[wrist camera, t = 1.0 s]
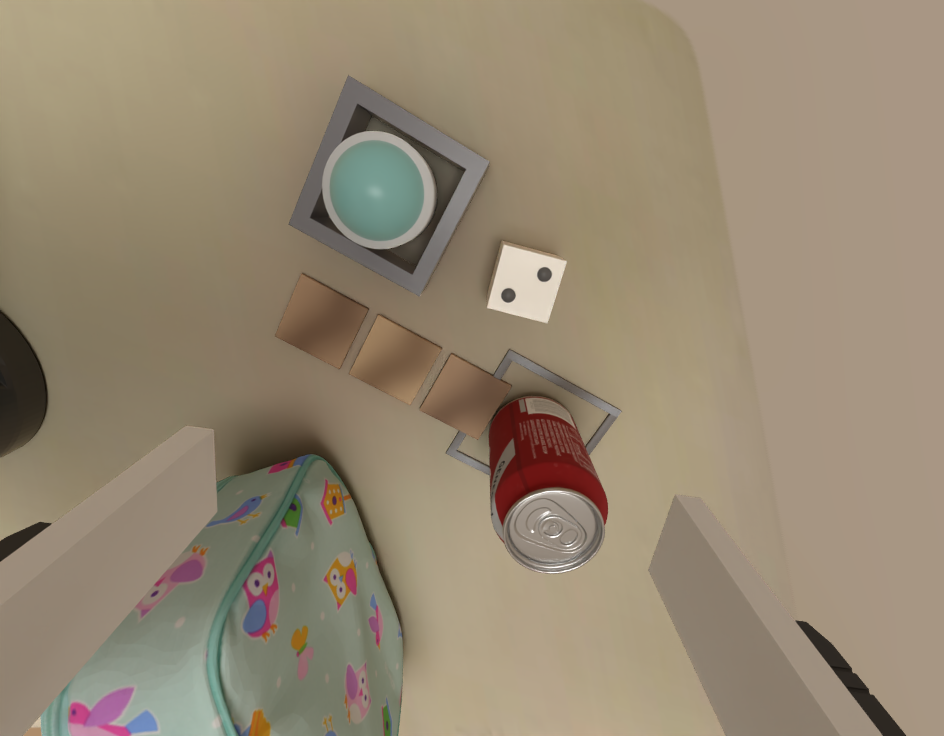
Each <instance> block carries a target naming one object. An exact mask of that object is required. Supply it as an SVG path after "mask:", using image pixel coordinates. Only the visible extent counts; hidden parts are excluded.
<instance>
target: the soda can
mask: <svg viewBox="0 0 944 736" xmlns="http://www.w3.org/2000/svg"><path fill="white" fill-rule="evenodd" d="M489 460H490V501H491V519H492V523H493V527H494V529H495V531H496V533H497V535H498V536H499V538H500V539H501V540H502V541H503V543H504V544H505V546H506V549H507V550H508V552H509V554H510V555H511V556H512V557H513V559H514V560H515V561H517V562H518V563H519V564H520V565H522V566H524V567H526V568H528V569H530V570H532V571H536V572H540V573H546V574H557V573H564V572H568V571H572V570H574V569H577V568H579V567H581V566H583V565H584V564H586V563H587V562H588V561H590V560H591V559H592V558H593V557H594V556H595V555H596V553H597V552H598V551H599V549H600V547H601V545H602V543H603V540H604V535H605V524H606V520H607V515H608V503H607V498H606V495H605V492H604V489H603V487H602V485H601V483H600V480H599V478H598V476H597V473H596V471H595V469H594V466H593V464H592V462H591V459H590V457H589V455H588V452H587V450H586V448H585V445H584V443H583V441H582V438H581V436H580V434H579V431H578V429H577V427H576V424H575V422H574V420H573V418H572V416H571V414H570V413H569V412H568V410H567V409H566V408H565V407H564V406H562V405H561V404H560V403H558V402H556V401H555V400H552V399H550V398H547V397H542V396H526V397H521V398H518V399H515V400H513V401H511V402H509V403H508V404H506V405H505V406H504V407H502V408H501V409H500V410H499V412H498V413H497V414H496V415H495V417H494V419H493V421H492V423H491V426H490V430H489Z"/></svg>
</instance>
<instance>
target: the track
mask: <svg viewBox="0 0 944 736" xmlns="http://www.w3.org/2000/svg"><path fill="white" fill-rule="evenodd" d="M368 310H369V309H368V308H366V307H365V306H363V305H361V304H359V303H357V302H355V301H353V300H352V299H350V298H348V297H346V296H344V295H342V294H340V293H338V292H337V291H335V290H333V289H331V288H329V287H327V286H325V285H324V284H322V283H320V282H318V281H316V280H314V279H312V278H311V277H309V276H307V275H305V274H303V273H302V274H301V275H300V278H299V280H298V282H297V285H296V287H295V289H294V292H293V294H292V297H291V299H290V301H289V304H288V306H287V308H286V311H285V313H284V315H283V318H282V320H281V322H280V325H279V327H278V329H277V332H276V334H275V337H277V338H279V339H281V340H283V341H285V342H287V343H289V344H291V345H293V346H295V347H297V348H299V349H301V350H303V351H305V352H307V353H309V354H311V355H313V356H315V357H317V358H318V359H320V360H322V361H324V362H326V363H328V364H330V365H332V366H334V367H336V368H338V369H340V367H341V365H342V363H343V361H344V359H345V357H346V355H347V353H348V351H349V349H350V347H351V345H352V343H353V341H354V339H355V337H356V335H357V333H358V331H359V328H360V326H361V324H362V322H363V320H364V318H365V316H366V314H367V312H368ZM441 350H442V348H441V347H439V346H437V345H435V344H434V343H432V342H430V341H428V340H426V339H424V338H422V337H421V336H419V335H417V334H415V333H413V332H411V331H409V330H407V329H406V328H404V327H402V326H400V325H398V324H396V323H394V322H393V321H391V320H389V319H387V318H385V317H383V316H381V315H380V314H379V315H378V316H377V318H376V320H375V322H374V324H373V326H372V328H371V330H370V332H369V334H368V336H367V338H366V340H365V342H364V344H363V347H362V349H361V351H360V353H359V355H358V357H357V359H356V361H355V363H354V365H353V367H352V369H351V371H350V373H349V374H350V375H352V376H354V377H356V378H358V379H360V380H362V381H364V382H365V383H367V384H369V385H371V386H373V387H375V388H377V389H379V390H381V391H383V392H385V393H387V394H389V395H391V396H393V397H395V398H397V399H399V400H401V401H403V402H405V403H407V404H409V405H411V403H412V401H413V399H414V398H415V396H416V394H417V392H418V391H419V389H420V387H421V385H422V383H423V382H424V380H425V378H426V376H427V374H428V373H429V371H430V369H431V367H432V366H433V364H434V362H435V360H436V358H437V357H438V355H439V353H440V351H441ZM512 361H514V362H516V363H518V364H520V365H522V366H523V367H525V368H527V369H529V370H531V371H533V372H534V373H536V374H538V375H540V376H542V377H544V378H545V379H547V380H549V381H551V382H553V383H555V384H556V385H558V386H560V387H562V388H564V389H566V390H567V391H569V392H571V393H573V394H575V395H577V396H578V397H580V398H582V399H584V400H586V401H588V402H589V403H591V404H593V405H595V406H597V407H599V408H600V409H602V410H604V411H606V412H608V413H610V414H609V415H608V416H607V418H606V419H605V420H604V422H603V423H602V425H601V426H600V427H599V429H598V430H597V431H596V433H595V434H594V435H593V437H592V438H591V440H590V441H589V442H588V444H587V445H586V446H585V448H586V450H587V452H588V455H590V454H591V452H592V451H593V449H594V448H595V447H596V445H597V444H598V443H599V441H600V440H601V439H602V437H603V436H604V435H605V433H606V432H607V431H608V429H609V428H610V426H611V425H612V424H613V422H614V421H615V420H616V418H617V417H618V416H619V414H620V413H621V412H622V411H621V410H619V409H618V408H616V407H614V406H612V405H610V404H608V403H607V402H605V401H603V400H601V399H599V398H598V397H596V396H594V395H592V394H590V393H588V392H587V391H585V390H583V389H581V388H579V387H577V386H576V385H574V384H572V383H570V382H568V381H567V380H565V379H563V378H561V377H559V376H557V375H556V374H554V373H552V372H550V371H548V370H547V369H545V368H543V367H541V366H539V365H537V364H536V363H534V362H532V361H530V360H528V359H526V358H525V357H523V356H521V355H519V354H517V353H516V352H514V351H512V350H510V349H509V351H508V352H507V354H506V356H505V357H504V359H503V360H502V362H501V364H500V365H499V367H498V369H497V370H496V372H495V374H494V375H491V374H489V373H488V372H486V371H484V370H482V369H480V368H478V367H476V366H475V365H473V364H471V363H469V362H467V361H465V360H463V359H462V358H460V357H458V356H456V355H454V354H452V353H451V355H450V357H449V358H448V360H447V362H446V364H445V365H444V367H443V369H442V371H441V372H440V374H439V376H438V378H437V379H436V381H435V383H434V385H433V386H432V388H431V390H430V392H429V393H428V395H427V397H426V399H425V400H424V402H423V404H422V406H421V407H420V411H422V412H424V413H426V414H428V415H430V416H432V417H434V418H436V419H438V420H440V421H442V422H444V423H446V424H448V425H450V426H452V427H454V428H456V429H458V430H459V432H458V434H457V435H456V437H455V439H454V440H453V442H452V443H451V445H450V447H449V448H448V450H447V452H446V454H448V455H450V456H452V457H454V458H456V459H458V460H460V461H462V462H464V463H466V464H468V465H470V466H472V467H474V468H476V469H478V470H480V471H482V472H484V473H486V474H488V475H490V467H489V466H487V465H485V464H483V463H481V462H479V461H477V460H475V459H473V458H471V457H469V456H467V455H465V454H463V453H461V452H459V451H457V449H458V447H459V446H460V444H461V442H462V441H463V439H464V437H465V436H466V434H467V435H469V436H471V437H473V438H475V439H477V440H478V439H479V437H480V436H481V434H482V433H483V431H484V429H485V428H486V426H487V425H488V423H489V422H490V420H491V418H492V417H493V415H494V414H495V412H496V411H497V409H498V407H499V406H500V404H501V403H502V401H503V400H504V398H505V396H506V395H507V393H508V392H509V390H510V389H511V387H512V386H511V385H510V384H508V383H506V382H504V381H503V380H501V378H502V376H503V375H504V373H505V372H506V370H507V368H508V367H509V365H510V364H511V362H512Z"/></svg>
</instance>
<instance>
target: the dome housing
mask: <svg viewBox="0 0 944 736" xmlns="http://www.w3.org/2000/svg"><path fill="white" fill-rule="evenodd" d="M371 116H373V117H375V118H377V119H378V120H380V121H382V122H383V123H385V124H387V125H388V126H390V127H392V128H393V129H395V130H397V131H398V132H400V133H402V134H403V135H405V136H407V137H408V138H410V139H412V140H413V141H415V142H417V143H418V144H420V145H421V146H423V147H425V148H426V149H428V150H430V151H431V152H433V153H435V154H436V155H438V156H440V157H441V158H443V159H445V160H446V161H448V162H450V163H451V164H453V165H455V166H456V167H458V168H460V169H461V170H463V171H465V173H464V175H463V177H462V178H461V180H460V182H459V184H458V186H457V188H456V190H455V192H454V194H453V196H452V198H451V200H450V202H449V204H448V206H447V208H446V210H445V212H444V214H443V216H442V218H441V220H440V222H439V224H438V226H437V228H436V230H435V232H434V234H433V236H432V238H431V239H430V241H429V243H428V245H427V247H426V249H425V251H424V253H423V255H422V257H421V259H420V261H419V263H418V265H417V266H415V265H413V264H411V263H410V262H408V261H406V260H404V259H403V258H401V257H399V256H397V255H395V254H394V253H392V252H390V251H388V250H386V249H373V248H368V247H364V246H361V245H359V244H357V243H355V242H353V241H352V240H350V239H349V238H347V237H346V236H345V235H344V234H343V233H342V232H341V231H340V230H339V229H338V228H337V227H336V225H335V224H334V223H333V221H332V220H331V218H329V214H328V212H327V209H326V206H325V203H324V199H323V193H322V180H323V173H324V169H325V166H326V163H327V161H328V159H329V157H330V155H331V154H332V152H333V151H334V150H335V149H336V147H337V146H338V145H339V144H340V143H342V142H343V141H344V140H345V139H347V138H349V137H350V136H353V135H355V134H357V133H361V132H365V130H366V128H367V125H368V123H369V121H370V118H371ZM489 163H490V162H489V161H487V160H486V159H484V158H483V157H481V156H479V155H478V154H476V153H474V152H473V151H471V150H470V149H468V148H466V147H465V146H463V145H461V144H460V143H458V142H456V141H455V140H453V139H452V138H450V137H448V136H447V135H445V134H443V133H442V132H440V131H438V130H437V129H435V128H434V127H432V126H430V125H429V124H427V123H425V122H424V121H422V120H421V119H419V118H417V117H416V116H414V115H412V114H411V113H409V112H407V111H406V110H404V109H403V108H401V107H399V106H398V105H396V104H394V103H393V102H391V101H390V100H388V99H386V98H385V97H383V96H381V95H380V94H378V93H376V92H375V91H373V90H372V89H370V88H368V87H367V86H365V85H363V84H362V83H360V82H358V81H357V80H355V79H354V78H352V77H350V76H349V75H348V77H347V80H346V82H345V85H344V87H343V90H342V92H341V95H340V97H339V100H338V102H337V105H336V107H335V110H334V112H333V115H332V117H331V120H330V122H329V125H328V127H327V130H326V132H325V135H324V137H323V140H322V142H321V145H320V147H319V150H318V152H317V155H316V157H315V160H314V162H313V165H312V167H311V170H310V172H309V175H308V177H307V179H306V182H305V184H304V187H303V189H302V192H301V194H300V197H299V199H298V202H297V204H296V207H295V209H294V212H293V214H292V217H291V219H290V222H289V225H290V226H292V227H294V228H296V229H298V230H300V231H301V232H303V233H305V234H307V235H309V236H310V237H312V238H314V239H316V240H318V241H320V242H321V243H323V244H325V245H327V246H329V247H330V248H332V249H334V250H336V251H338V252H340V253H341V254H343V255H345V256H347V257H349V258H350V259H352V260H354V261H356V262H358V263H359V264H361V265H363V266H365V267H367V268H369V269H370V270H372V271H374V272H376V273H378V274H379V275H381V276H383V277H385V278H387V279H389V280H390V281H392V282H394V283H396V284H398V285H399V286H401V287H403V288H405V289H407V290H409V291H410V292H412V293H414V294H416V295H418V296H420V295H421V294H422V292H423V291H424V290H425V288H426V287H427V285H428V283H429V281H430V279H431V277H432V275H433V273H434V271H435V269H436V267H437V266H438V264H439V262H440V260H441V258H442V256H443V254H444V252H445V250H446V248H447V246H448V245H449V243H450V241H451V239H452V237H453V235H454V233H455V231H456V229H457V227H458V225H459V224H460V222H461V220H462V218H463V216H464V214H465V212H466V210H467V208H468V206H469V204H470V203H471V201H472V199H473V197H474V195H475V193H476V191H477V189H478V187H479V185H480V183H481V181H482V180H483V178H484V176H485V174H486V172H487V170H488V168H489Z"/></svg>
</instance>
